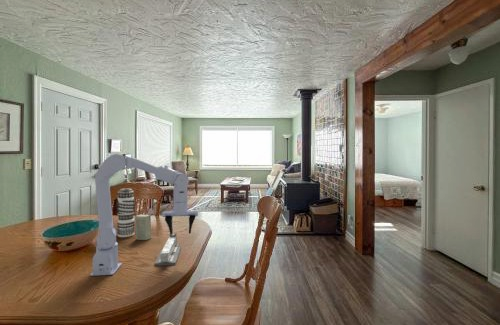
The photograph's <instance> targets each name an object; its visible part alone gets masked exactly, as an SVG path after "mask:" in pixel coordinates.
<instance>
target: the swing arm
mask: <svg viewBox="0 0 500 325" xmlns="http://www.w3.org/2000/svg"><path fill="white" fill-rule="evenodd" d="M176 243H177V236H176V237H170V236H169V237H168V238H167V241H166V242H165V244H164V246H163V247H164V248H163V247H162V249H163V250H162V249H161V250H162V252H161V251H160V252H161V253H160V252H159V254H160V262H169V259H170V257H171V254H172V252H173V250H174V247H175V245H176Z"/></svg>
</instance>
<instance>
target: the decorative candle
mask: <svg viewBox="0 0 500 325" xmlns="http://www.w3.org/2000/svg"><path fill="white" fill-rule="evenodd" d="M134 192H135V191H134V190H133V189H132V188H131V187H129V188H127V187H124V188H120V189H119V190H118V191H117V201H116V210H117V211H116V214H117V216H118V217H117V224H116V225H117V226H116V227H117V229H116V231H117V234H116V235H117V237H119V238H128V237H131V236H134V235H136V221H135V217H134V214H135V210H134V209H136V207H135V205H136V204H135V202H136V199H135V197H134Z"/></svg>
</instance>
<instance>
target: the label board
mask: <svg viewBox="0 0 500 325" xmlns="http://www.w3.org/2000/svg"><path fill="white" fill-rule="evenodd" d="M163 248H164V246H163V247H162V249H161V251H160V252H159V254H158V256H157V257H156V260H155V262H154V264H153V265H154V267H158V266H176V265H177V261H178V258H179V256H180V252H181V250H182V246H179V247H174V250H173V252H172V254H171V257H170V259H169V262H160V253H161V252H162V250H163Z"/></svg>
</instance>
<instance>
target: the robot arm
mask: <svg viewBox="0 0 500 325" xmlns="http://www.w3.org/2000/svg"><path fill="white" fill-rule="evenodd" d="M124 168H126V169H134V168H135V169H138V170H141V171H144V172H148V173H149V174H152V175H154V177H155V179H157V180H158V181H159V180H160V181H162V182H165V183H167V184H173V210H169V211H166V210H165V211H162V216H161V217H162V218H164V221H165V223H166V225H167V228H168V231H169V235H170V234H172V233H173V231H174V230H173V218H174V217H188V225H189V226H188V234H191V233H192V228H193V223H194V221H195V220H196V217H198V216H199V210H189V209H188V186H189V183H190V179H189V176H187V174H185V173H182V172H181V171H180V170H178V169H176V170H174V169H172V168H170V167H169V165H166V164H164V165H160V166H155V165H152V164H150V163H148V162H145V161H143V160H141V159H138V158H136V157H133V156H127V155H122V154H120V153H114V154H111V155H110V156H108V157H107V158H106V159H104V160H103V162H102V164H101V165H100V167H99V168H98V170H97V171H96V173H95V174H94V181H95V182H94V183H95V192H96V205H97V215H98V216H97V217H98V235H97V238H96V246H95V247H96V252H95V253H94V255H93V257H92V272H91V273H90V274H89V276H90V277H92V276H94V277H95V276H112V275H114V274H115V273H116V272H117V270H118V269H119V268H120V267H121V266H122V264H123V263H122V262H119V248H118V247H119V243H118V242H117V235H118V234H117V232H118V231H117V229H116V228H115V225H114V220H113V211H112V210H113V209H112V197H111V186H110V179H111V178H112V177H113V176H114V175H115V174H116V173H119V172H120V171H122V170H123V169H124ZM179 171H180V172H179Z"/></svg>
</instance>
